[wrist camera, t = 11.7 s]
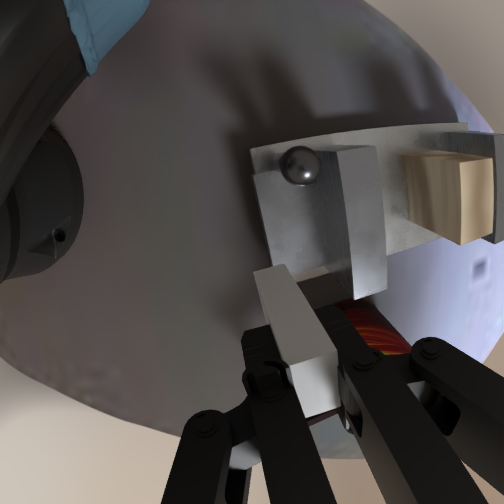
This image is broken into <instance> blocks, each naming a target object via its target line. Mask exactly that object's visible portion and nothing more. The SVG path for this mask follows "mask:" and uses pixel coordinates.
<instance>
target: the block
mask: <svg viewBox="0 0 504 504" xmlns="http://www.w3.org/2000/svg"><path fill="white" fill-rule="evenodd" d="M404 159H405V167H406V176H407V187H408V199H409V215H410V222H412V223H415V224H417V225H419V226H421V227H423V228H425V229H428V230H430V231H432V232H434V233H436V234H438V235H440V236H442V237H444V238H446V239H448V240H450V241H452V242H454V243H456V244H458V245H460V246H461V245H464V244H466V243H469V242H471V241H474V240H476V239H479V238H481V237H483V236H486V235H488V234H491V233H492V230H493V206H494V184H493V160H492V158H488V157H482V156H476V155H469V154H462V153H455V152H447V151H430V152H422V153H415V154H407V155H404Z"/></svg>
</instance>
